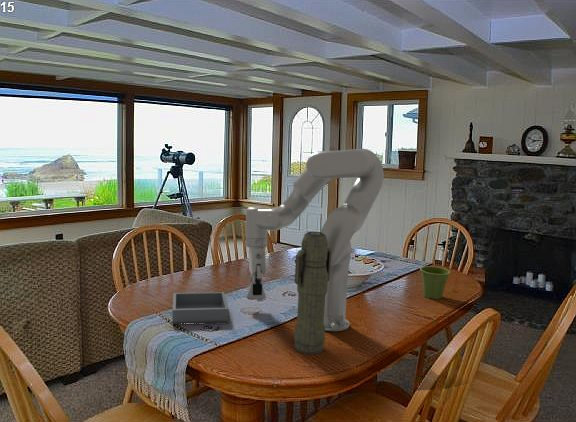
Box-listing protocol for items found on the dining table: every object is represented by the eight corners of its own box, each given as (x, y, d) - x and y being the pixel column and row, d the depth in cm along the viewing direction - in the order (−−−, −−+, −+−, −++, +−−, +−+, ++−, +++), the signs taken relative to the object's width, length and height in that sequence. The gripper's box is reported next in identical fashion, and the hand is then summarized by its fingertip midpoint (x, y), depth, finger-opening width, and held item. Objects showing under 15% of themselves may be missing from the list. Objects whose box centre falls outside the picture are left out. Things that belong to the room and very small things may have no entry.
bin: (228, 323, 172) (228, 308, 172) (172, 325, 169) (172, 310, 168) (223, 305, 190) (224, 292, 189) (173, 306, 186) (173, 292, 185)
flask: (263, 301, 181) (263, 273, 179) (243, 299, 182) (243, 271, 181) (268, 295, 188) (268, 268, 186) (249, 293, 189) (249, 266, 188)
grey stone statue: (283, 347, 155) (289, 232, 150) (312, 338, 163) (318, 228, 158) (304, 358, 148) (310, 237, 143) (333, 348, 156) (340, 233, 151)
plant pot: (412, 296, 212) (414, 269, 210) (426, 290, 220) (428, 264, 219) (439, 303, 204) (441, 275, 202) (452, 297, 212) (455, 270, 211)
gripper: (271, 246, 175) (270, 299, 177) (263, 237, 191) (262, 285, 194) (249, 247, 173) (248, 300, 176) (243, 237, 190) (242, 286, 192)
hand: (256, 292), depth 185 cm, fingers closed on flask, 4 cm apart
